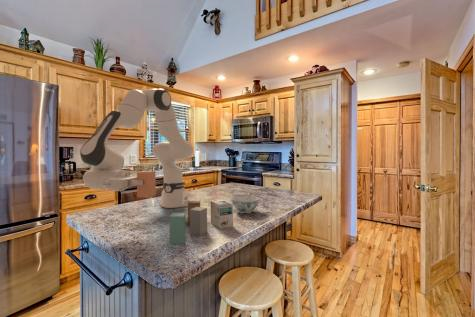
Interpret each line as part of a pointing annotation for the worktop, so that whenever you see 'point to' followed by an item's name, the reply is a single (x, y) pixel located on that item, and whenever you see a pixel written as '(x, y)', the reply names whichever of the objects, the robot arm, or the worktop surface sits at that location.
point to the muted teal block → (177, 228)
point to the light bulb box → (222, 213)
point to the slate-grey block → (198, 220)
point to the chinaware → (245, 203)
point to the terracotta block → (146, 184)
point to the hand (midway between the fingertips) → (148, 181)
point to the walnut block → (192, 205)
